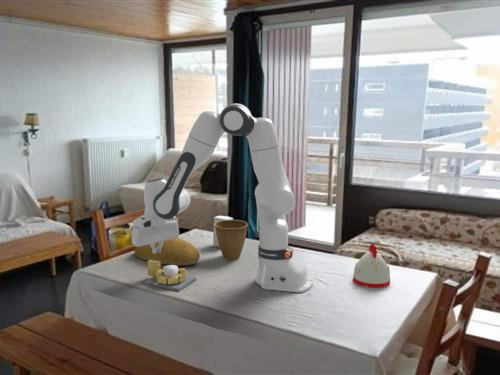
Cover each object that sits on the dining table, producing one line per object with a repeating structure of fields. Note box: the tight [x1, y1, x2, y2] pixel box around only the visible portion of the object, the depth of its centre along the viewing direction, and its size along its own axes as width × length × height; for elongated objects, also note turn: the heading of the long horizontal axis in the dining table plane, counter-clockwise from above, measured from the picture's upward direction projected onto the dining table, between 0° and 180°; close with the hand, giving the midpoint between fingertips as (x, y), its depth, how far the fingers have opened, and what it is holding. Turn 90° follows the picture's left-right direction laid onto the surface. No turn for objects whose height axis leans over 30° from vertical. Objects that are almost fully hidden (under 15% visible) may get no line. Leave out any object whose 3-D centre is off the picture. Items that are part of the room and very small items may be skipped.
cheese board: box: [146, 260, 187, 285], centre depth 166 cm, size 16×11×6 cm
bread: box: [134, 237, 201, 267], centre depth 193 cm, size 18×35×10 cm, turn 58°
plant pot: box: [215, 219, 248, 261], centre depth 193 cm, size 15×15×16 cm
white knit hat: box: [352, 243, 391, 289], centre depth 165 cm, size 14×14×15 cm
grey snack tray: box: [144, 264, 198, 292], centre depth 165 cm, size 16×12×6 cm
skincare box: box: [212, 215, 234, 248], centre depth 211 cm, size 8×6×15 cm
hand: (156, 252), depth 170 cm, fingers closed
